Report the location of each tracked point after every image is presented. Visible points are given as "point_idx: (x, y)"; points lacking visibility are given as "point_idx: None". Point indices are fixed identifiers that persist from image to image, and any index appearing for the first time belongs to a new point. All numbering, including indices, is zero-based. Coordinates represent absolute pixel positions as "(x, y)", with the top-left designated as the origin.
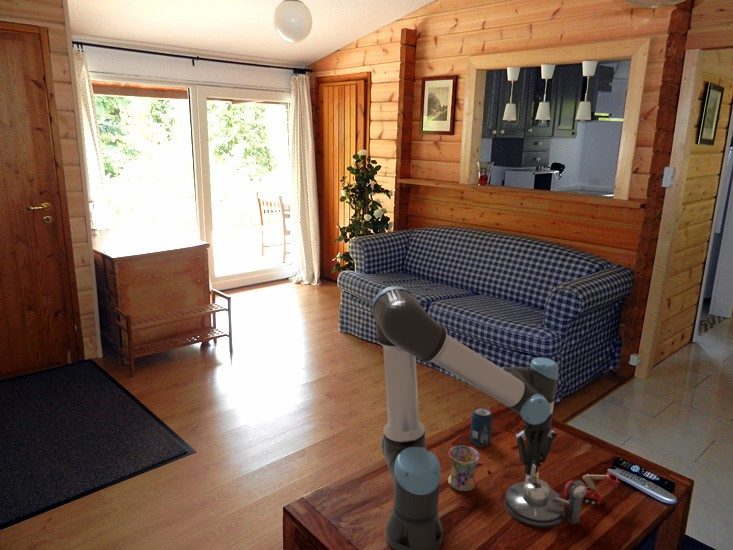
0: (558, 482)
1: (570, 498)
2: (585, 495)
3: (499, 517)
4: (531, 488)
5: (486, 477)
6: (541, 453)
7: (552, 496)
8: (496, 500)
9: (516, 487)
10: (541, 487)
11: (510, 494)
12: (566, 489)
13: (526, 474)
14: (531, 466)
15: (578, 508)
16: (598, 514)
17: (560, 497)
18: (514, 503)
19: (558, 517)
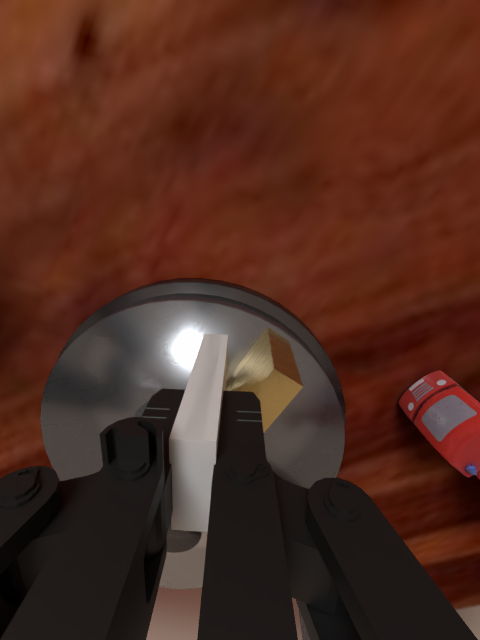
0: (465, 287)
1: (309, 637)
2: (478, 477)
3: (14, 422)
4: None
5: (45, 101)
6: (394, 609)
7: (296, 455)
8: (37, 324)
9: (134, 340)
10: (190, 551)
11: (70, 382)
12: (420, 426)
13: (196, 359)
14: (172, 500)
15: None
16: (438, 513)
17: (332, 470)
18: (64, 444)
19: None
